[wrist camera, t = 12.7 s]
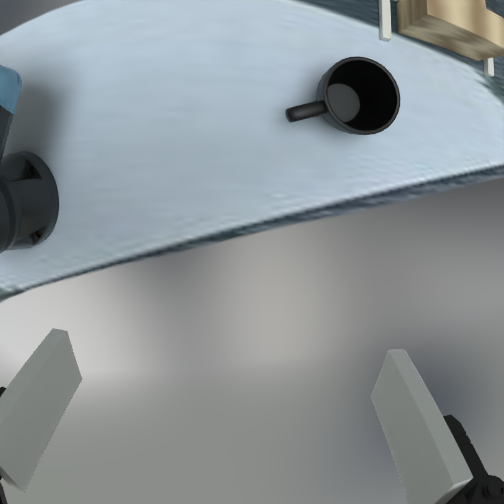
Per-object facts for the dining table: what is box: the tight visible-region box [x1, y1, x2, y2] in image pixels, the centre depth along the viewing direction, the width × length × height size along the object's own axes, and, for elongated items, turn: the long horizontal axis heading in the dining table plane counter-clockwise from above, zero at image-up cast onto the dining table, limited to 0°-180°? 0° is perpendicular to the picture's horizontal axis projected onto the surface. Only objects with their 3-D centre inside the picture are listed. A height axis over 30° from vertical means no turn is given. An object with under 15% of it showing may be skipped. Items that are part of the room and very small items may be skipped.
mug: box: [285, 57, 400, 135], centre depth 32 cm, size 8×12×10 cm
